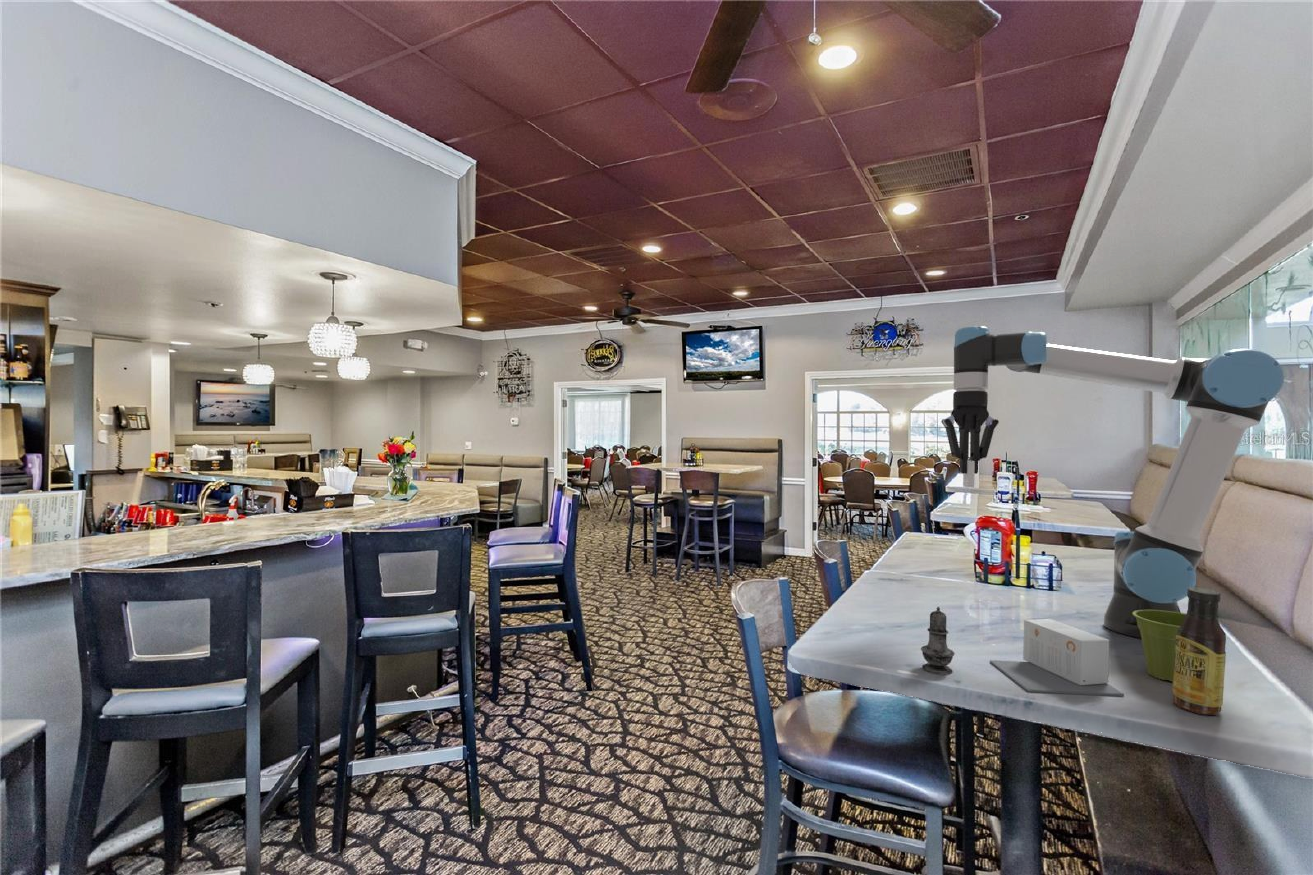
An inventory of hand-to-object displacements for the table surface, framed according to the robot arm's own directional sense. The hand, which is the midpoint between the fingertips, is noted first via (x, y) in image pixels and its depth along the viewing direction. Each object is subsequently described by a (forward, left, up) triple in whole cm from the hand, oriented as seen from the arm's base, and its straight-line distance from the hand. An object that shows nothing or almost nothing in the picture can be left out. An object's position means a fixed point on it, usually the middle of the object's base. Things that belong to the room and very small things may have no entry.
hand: (968, 486), depth 150 cm
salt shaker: (+20, +35, -33) cm, 52 cm away
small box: (-2, +28, -28) cm, 39 cm away
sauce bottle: (-17, +48, -33) cm, 60 cm away
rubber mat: (0, +37, -32) cm, 49 cm away
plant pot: (-23, +34, -33) cm, 52 cm away
